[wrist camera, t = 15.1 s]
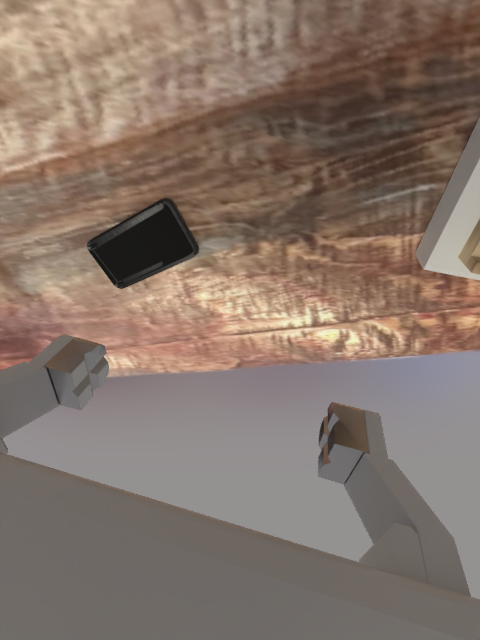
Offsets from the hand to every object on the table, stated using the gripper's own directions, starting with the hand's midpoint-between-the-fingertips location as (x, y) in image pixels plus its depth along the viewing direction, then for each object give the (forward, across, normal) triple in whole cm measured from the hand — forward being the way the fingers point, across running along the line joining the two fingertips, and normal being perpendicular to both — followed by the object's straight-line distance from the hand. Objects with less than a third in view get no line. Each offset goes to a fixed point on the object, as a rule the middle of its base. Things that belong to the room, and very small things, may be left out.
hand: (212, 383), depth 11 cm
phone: (+30, +18, +10) cm, 36 cm away
